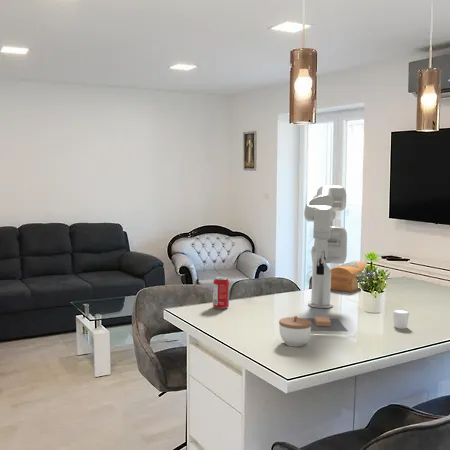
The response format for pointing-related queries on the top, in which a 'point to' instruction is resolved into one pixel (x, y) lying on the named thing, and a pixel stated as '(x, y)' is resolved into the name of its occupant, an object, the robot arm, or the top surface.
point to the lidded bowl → (294, 330)
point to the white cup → (400, 318)
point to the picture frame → (322, 321)
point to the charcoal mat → (335, 326)
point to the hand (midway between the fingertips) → (320, 274)
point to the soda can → (221, 293)
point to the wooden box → (346, 276)
